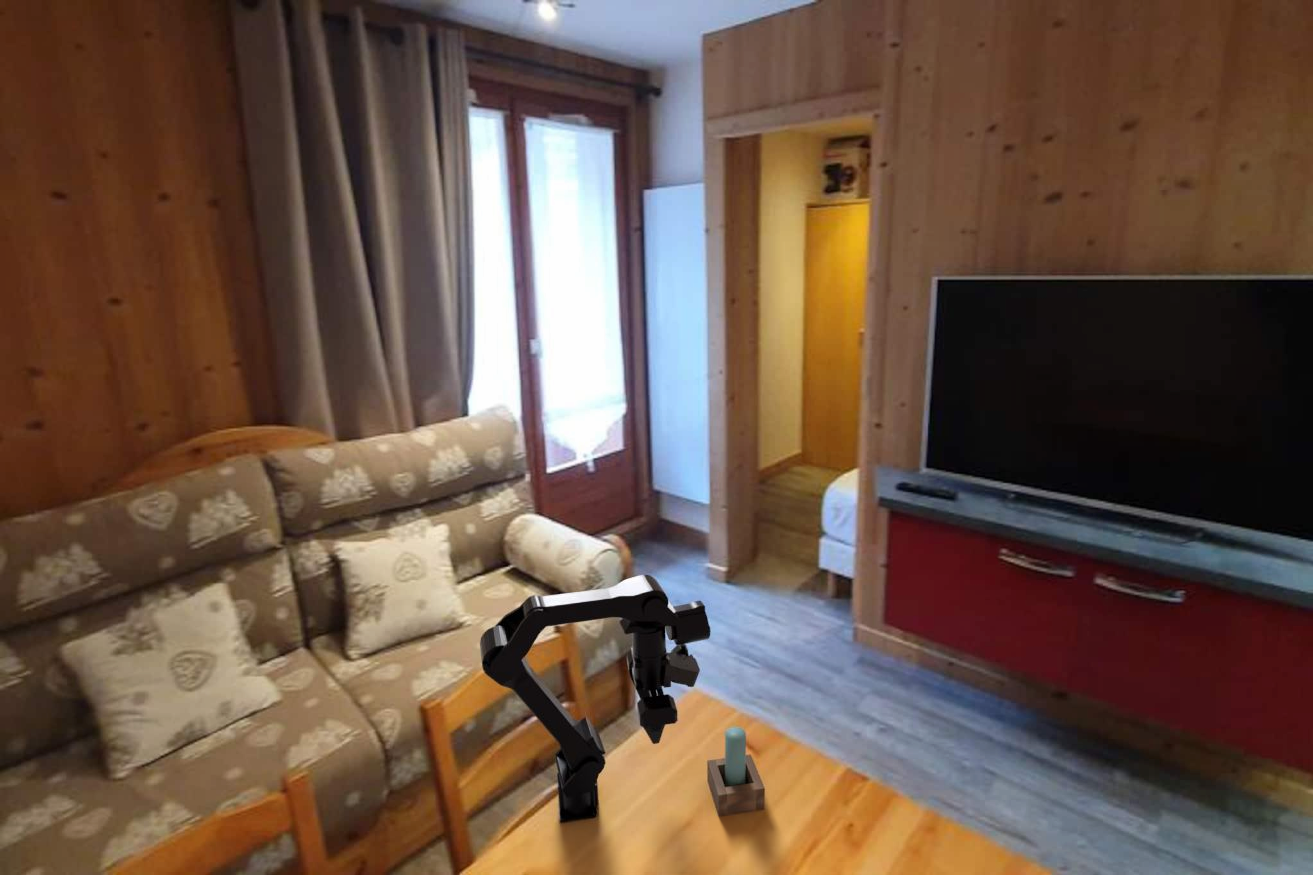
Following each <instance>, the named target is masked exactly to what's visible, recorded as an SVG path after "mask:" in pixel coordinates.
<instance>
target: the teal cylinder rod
mask: <svg viewBox="0 0 1313 875" xmlns="http://www.w3.org/2000/svg"><path fill="white" fill-rule="evenodd" d="M746 752H747V734H746V730H744V729H743V728H742V727H739V726H731V727H728V728H727V729H726V730H725V732H724V758H725V785H724V786H725V787H730V786H737V785H744V784H746V783H745V770H746V755H747V754H746Z"/></svg>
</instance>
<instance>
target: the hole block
mask: <svg viewBox="0 0 1313 875" xmlns="http://www.w3.org/2000/svg"><path fill="white" fill-rule="evenodd" d="M706 762H707V764H706V765H707V769H706V770H707V771H706V772H707V773H706V774H707V778H706V779H707V783H708V787H709V790H710V794H711V797H712V799H713V800H712V801H713V803H714V806H715V808H716V813H717V816H718V817H725V816H730V815H731V816H732V815H737V814H743V813H751V812H757V811H762V810H763V811H764V810H765V799H766V798H765V794H766V793H765V792H766V787H765V785H764V783H763V781H762V779H761V775H760V774H759V771H758V769H757V767H756V763H755V761H754V759H753V756H752V754H750V753H749V754H746V770H745V784H744V785H737V786H730V787H725V757H724V758H716V759H709V760H708V759H707V761H706Z"/></svg>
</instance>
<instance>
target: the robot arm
mask: <svg viewBox="0 0 1313 875" xmlns="http://www.w3.org/2000/svg"><path fill="white" fill-rule="evenodd" d="M612 618H614V619H615V618H618V619H620V620H619V625H620V627H621V629H622V631H623V633H624V634H625V635H630V634H631V638H632V639H631V642H632V646H631V647H630V649H629V651H628V652H627V653H626V663H627V669H628V673H629V674H628V675H629V678H630V679H631V682H632V685H633V686H634V688H635V690H636V692H637V695H638V697H639V700H638V701H637V702H636V710H637V717H638V722H639V726H640V727H642V729H643V730H644V731H645V733H646V735H647V736H648V738H649V740H650V741H651V743H652V744H653V745H657V744H659V743H660V742H661V740H662V735H663V732H664V729H665V727H666V725H674V724H676V723H677V722H678V709H677V706H676V702H675V699H674V697H673V696H672V695H670V694H667V693H666V694H665V692H664V691H663V690H664V689H663V688H666V689H667V688H671V687H672V683H674V684H679V685H684V686H687V687H689V688H694V687H695V685H696V682H697V680H698V677H699V674H700V672H701V669H700V666H699V664H698V661H697V658H695V657H694V656H693V654H692V653H690V654H689V649H688V646H687V644H691V643H695V642H696V643H697V642H701V641H706V640H708V639H710V638H711V626H710V623H709V620H708V614H707V613H706V606H705V604H704V603H703V602H702V601H701V600H696V601H695V600H694V601H692V602H689V603H686V604H680V605H675V606H673V604H672V603H671V602H670V600H669V597H668V596H667V594H666V592H665V591H664V590H663V588H662V586H661V584H660V582H658V581H657V579H656V578H655V577H653V576H652V575H651V574H650V575H649V574H640V575H637V576H633V577H630V578H626V579H624V580H622V581H621V582H619V583H617V584H616V585H613V586H611V587H606V588H599V589H591V590H590V589H589V590H584V591H583V590H582V591H576V592H575V591H574V592H566V593H560V594H550V595H544V596H542V595H541V596H540V595H531V596H529V597H527V598H526V599H525V600H524V601H523V602H522V603H521V605H520V606H518V607H517V608H515V609H513V610H512V611H510V612H508V613H507V614H505V615H503V617H502V618H501V619H500V620H499V621H498V622H497V623H496V624H495V625H494V626H492V627H490V628H488V629H486V631H484V632H483V634H482V635H481V637H480V641H479V648H480V659H481V660H480V661H481V666H482V670H483V672H484V674H485V675H486V676H487V677H489V678H490V679H491V680H492V681H494V682H495V683H497V684H498V685H499V686H501V687H504V688H507V689H510V690H512V692H514V693H515V694H516V695H517V697H519V699H520V700H521V701H522V702H523V703H524V704H525V706H526V707H527V708H528V709H529V711H530V712H531V713H532V715H534V717H536V719H537V720H538V721H539V722H540V724H542V725H543V727H544V728H545V729H546V730H547V732H548V733H549V734H550V735H551V736H552V737H553V739H555V741H556V742H557V743H558V745H559V747H560V748H559V749H558V750H557V751H556V753H555V754H554V759H555V763H556V769H557V773H556V777H557V779H556V780H557V794H558V820H559V822H560V823H567V822H571V821H572V822H573V821H579V820H585V819H592V818H595V817H598V816H597V815H598V812H597V809H598V808H597V806H599V804H600V803H599V787H598V786H599V785H598V778H599V775H600V774H601V773H602V772H603V770H604V769H605V766H606V759H605V755H606V750H605V747H604V745H603V742H602V738H601V736H600V732H599V729H598V727H597V726H594V725H593V724H592V723H591V722H590V720H589V718H588V717H587V716H584V717H583V718H581V720H578V719H575V718H573V716H572V715H571V713H569V711H567V709H566V708H565V707H564V706H563V704H562V703H561V702H560V701H559V699H558V697H556V696H555V695H554V693H553V692H552V691H551V690H550V689H549V687H548V686H547V685H546V684H545V682H544V681H543V680H542V679H541V678H540V677H539V675H538V674H537V672H536V671H535V670H534V669H533V668H532V667H531V665H530V664H529V662H528V659H527V655H528V653H529V652H530V650H531V648H532V646H534V644H535V642H536V640H537V638H538V636H539V635H540V633H541V632H542V631H544V629H545V628H547V627H553V626H560V625H562V626H563V625H568V624H569V625H570V624H574V623H582V622H588V621H589V622H590V621H597V620H604V619H612ZM666 636H667V639H668V641H673V642H674V644H675V645H676V646H675V647H674V648H673V649H671V650H670V652H667V646H666V645H667V643H666Z"/></svg>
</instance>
